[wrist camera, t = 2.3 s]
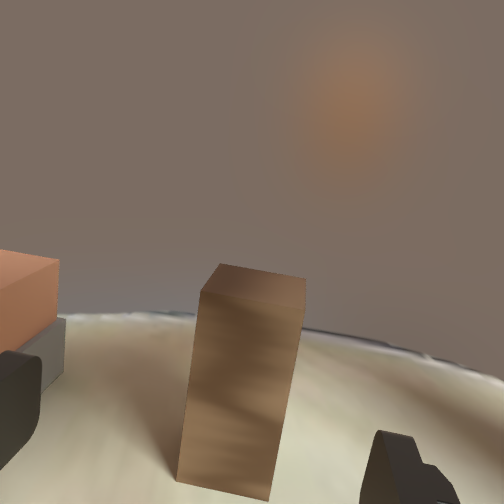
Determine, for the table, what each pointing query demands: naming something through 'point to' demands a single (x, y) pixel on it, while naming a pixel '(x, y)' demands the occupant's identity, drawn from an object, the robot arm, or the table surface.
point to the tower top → (26, 297)
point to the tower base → (48, 350)
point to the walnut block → (240, 379)
